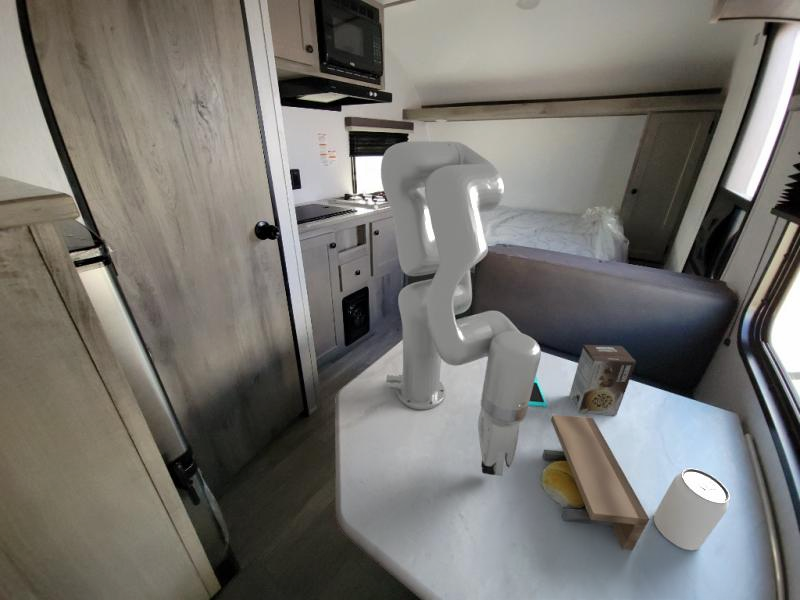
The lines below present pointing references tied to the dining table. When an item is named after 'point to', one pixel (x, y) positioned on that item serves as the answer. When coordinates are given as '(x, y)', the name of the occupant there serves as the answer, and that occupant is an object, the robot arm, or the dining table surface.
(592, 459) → the overhang shelf
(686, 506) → the can
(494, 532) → the dining table surface
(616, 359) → the coffee box
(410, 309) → the robot arm
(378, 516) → the dining table surface
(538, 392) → the handheld game console
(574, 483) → the bread roll
